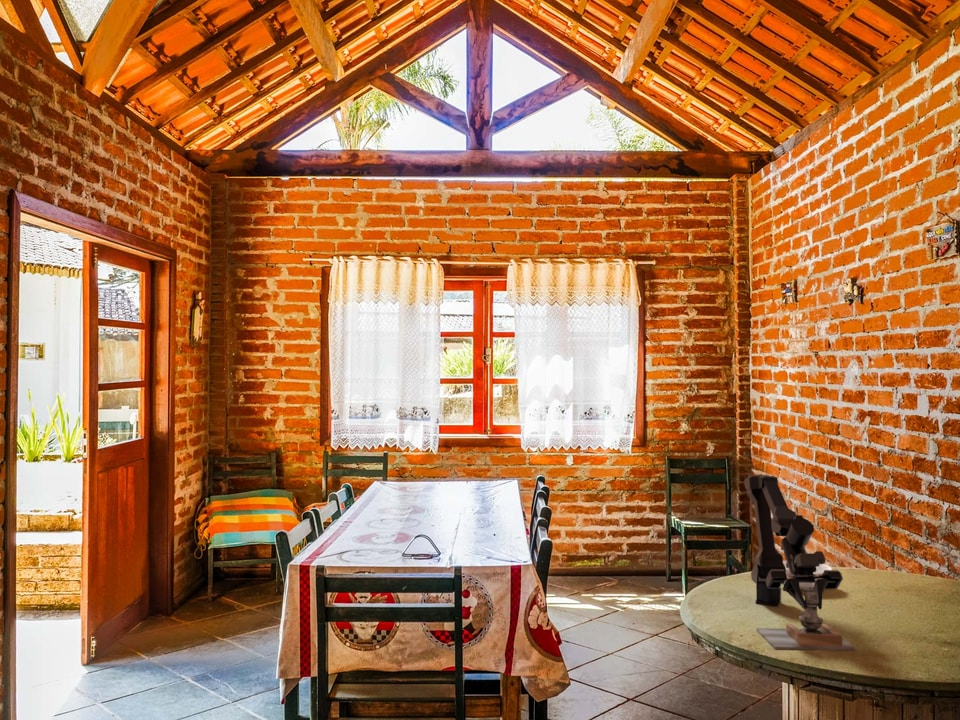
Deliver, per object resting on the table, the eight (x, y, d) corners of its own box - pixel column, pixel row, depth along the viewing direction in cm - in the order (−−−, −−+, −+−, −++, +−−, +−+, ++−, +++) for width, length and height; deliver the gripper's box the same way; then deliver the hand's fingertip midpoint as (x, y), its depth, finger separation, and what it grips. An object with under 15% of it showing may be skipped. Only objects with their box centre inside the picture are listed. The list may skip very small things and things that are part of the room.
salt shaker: (820, 637, 190) (819, 591, 190) (796, 633, 193) (795, 587, 194) (825, 631, 194) (825, 586, 195) (802, 627, 198) (801, 582, 198)
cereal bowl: (765, 583, 249) (765, 562, 249) (802, 578, 255) (802, 557, 255) (806, 596, 233) (805, 574, 233) (844, 591, 240) (843, 569, 240)
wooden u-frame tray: (756, 630, 201) (756, 619, 201) (831, 631, 200) (831, 620, 200) (774, 648, 187) (774, 636, 187) (855, 650, 186) (854, 637, 186)
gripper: (768, 539, 199) (784, 592, 188) (839, 540, 198) (859, 593, 187) (759, 561, 207) (773, 613, 195) (827, 562, 206) (845, 614, 194)
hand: (812, 608), depth 193 cm, fingers closed on salt shaker, 4 cm apart
